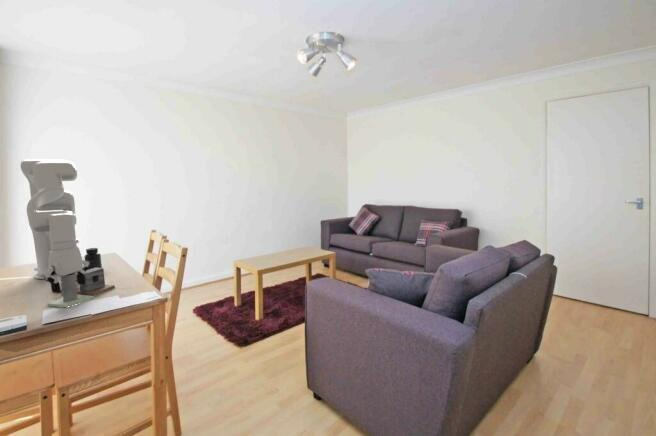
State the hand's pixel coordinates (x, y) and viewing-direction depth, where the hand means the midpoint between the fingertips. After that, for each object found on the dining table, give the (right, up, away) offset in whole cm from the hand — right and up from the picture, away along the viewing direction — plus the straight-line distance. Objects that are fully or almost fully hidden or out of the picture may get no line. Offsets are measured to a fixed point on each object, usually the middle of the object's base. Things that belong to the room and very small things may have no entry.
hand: (69, 288), depth 128 cm
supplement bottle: (-20, 0, +41) cm, 46 cm away
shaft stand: (-5, -4, +14) cm, 15 cm away
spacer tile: (0, -6, +1) cm, 6 cm away
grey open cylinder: (0, -5, +1) cm, 5 cm away
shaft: (-6, -1, +14) cm, 16 cm away
